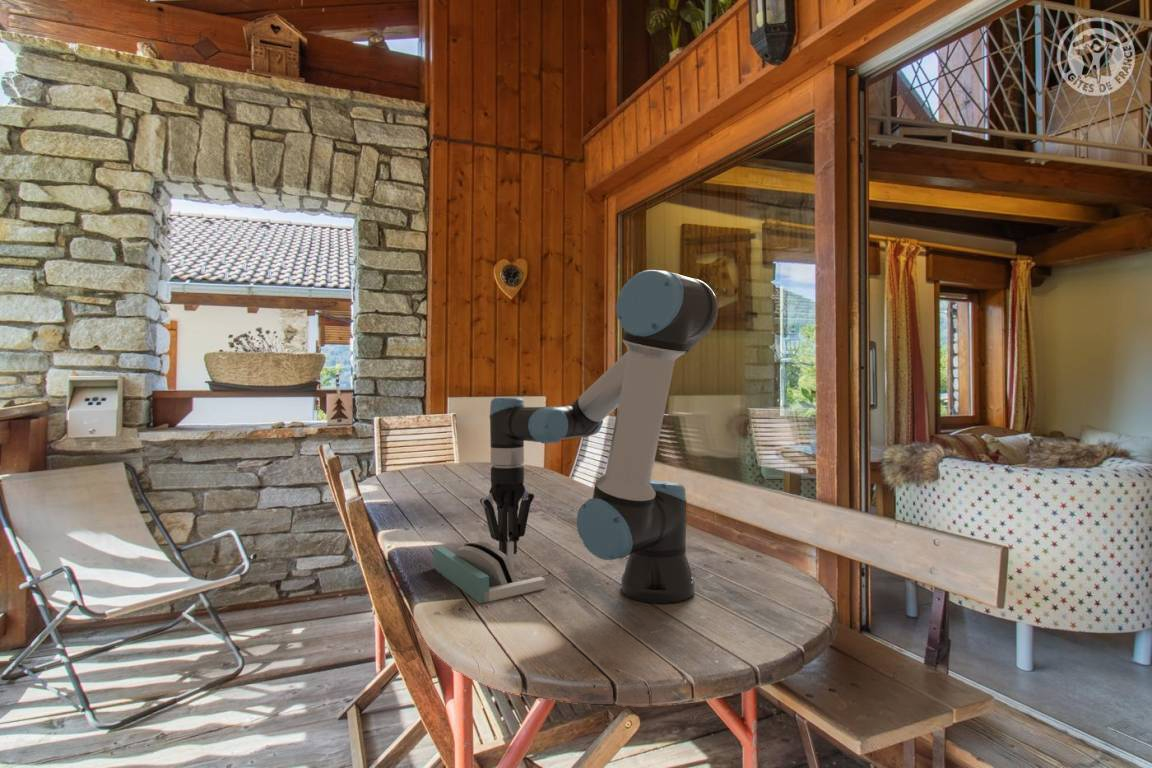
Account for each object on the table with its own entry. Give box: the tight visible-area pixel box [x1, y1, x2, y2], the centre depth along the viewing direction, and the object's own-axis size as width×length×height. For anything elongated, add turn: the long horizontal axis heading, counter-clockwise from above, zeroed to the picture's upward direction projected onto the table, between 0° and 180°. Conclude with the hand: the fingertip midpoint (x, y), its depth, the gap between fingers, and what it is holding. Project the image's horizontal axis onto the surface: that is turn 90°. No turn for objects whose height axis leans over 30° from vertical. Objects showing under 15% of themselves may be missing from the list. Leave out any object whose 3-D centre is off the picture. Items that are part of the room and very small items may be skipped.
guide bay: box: [432, 545, 546, 604], centre depth 133 cm, size 26×15×5 cm, turn 33°
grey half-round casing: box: [455, 540, 522, 587], centre depth 130 cm, size 17×5×10 cm, turn 44°
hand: (508, 569), depth 136 cm, fingers closed
